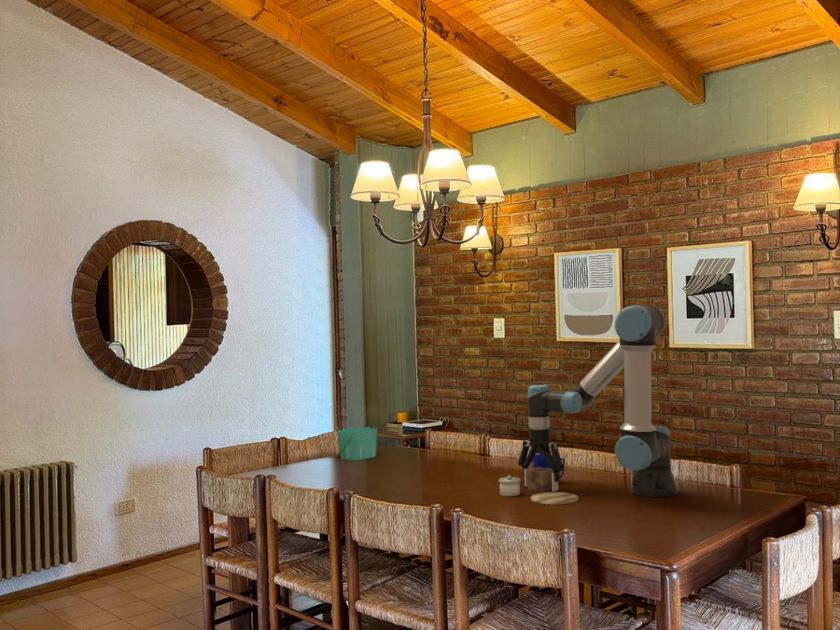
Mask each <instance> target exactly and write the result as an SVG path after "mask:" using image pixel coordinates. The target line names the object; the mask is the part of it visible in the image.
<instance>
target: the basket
mask: <svg viewBox="0 0 840 630" xmlns="http://www.w3.org/2000/svg"><path fill="white" fill-rule="evenodd" d="M336 431H337V439H338V446H339V451H338V455H339V456H340V458H341V459H342V460H349V461H357V460H358V461H359V460H367V459H368V460H369V459H372V458H375V457H376V456H377V439H378V428H376V427H375V426H374V427H371V426H366V427H365V428H364V426H358V427H357V428H355V427H354V426H353V427H348V428H345V427H343V428H342V429H340V428H339V429H338V430H336Z"/></svg>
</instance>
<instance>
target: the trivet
mask: <svg viewBox="0 0 840 630" xmlns="http://www.w3.org/2000/svg"><path fill="white" fill-rule="evenodd" d="M579 500H580V499H579V496H578V495H577V494H575V493H574V494H573V493H569V492H563V491H545V492H539V493H535V494H532V495H531V496H530V501H531V502H533V503H535V504H541V505H548V504H549V505H551V506H556V505H557V506H560V505H571V504H574V503H577V502H578V501H579Z"/></svg>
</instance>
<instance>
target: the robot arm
mask: <svg viewBox="0 0 840 630" xmlns="http://www.w3.org/2000/svg"><path fill="white" fill-rule="evenodd" d="M614 319H615V320H614V330H615V332H616V335H617V336H618V337H619V340H618V341H617V342H616V343H615V344H614V345H613V346H612V347H611V349H610V350H609V351H608V352H607V353H606V354H605V355H604V356H603V357H602V358H601V359H600V360H599V361H598V362H597V363H596V365H594V367H593V368H592V369H591V370H590V371H589V372H588V373H587V374H586V375H585V376H584V378H583V379H581V380H580V381H579V382H578V384H577V385H576V386H575V387H574V388H572V389H569V390H564V391H562V390H561V391H560V390H559V391H556V390H555V391H552V390H550V389H549V386H548V385H547V384H546V385H545V384H533V385H530V386H528V388H527V407H528V415H527V416H528V427H529V428H528V439H529V440H523V441H522V449H521V453H520V456H519V460H518V462H517V465H518V466H519V467H521V468H522V476H523V477H524V478H523V479H524V487H525V488H528V481H527V470H530V469H531V467H530V464H532V460H533V458H534V456H535V455H538V454H543V456H544V457H545V458H546V459H547V461H548V463H549V465H550V466H551V468H552V470H553V472H552V490H551V492H558V491H559V482H560V480H561V478H560V475H561V474H560V473H561V472H562V471H564V472H565V465H564V466H563V460H561V458H562V457H561V455H560V452H559V447H558V446H559V445H558V443H551V442H550V439H551V429H550V425H551V423H550V422H551V421H550V413H559V414H560V413H561V414H562V413H563V414H569V415H570V414H578V413H580V412H581V410H583V409H586V408H588V407H591V405H592V404H593V402H594V400H595V398H596V396H598V394H600V392H601V391H602V390H603V389H604V388H605V387H606V386H607V385H608V384H609V383H610V382H611V381H612V380H613V379H614V378H615V377H616V376H617V375H618V374H619V373H620V372H621V371H622V370H624V374H623V375H624V377H623V378H624V379H623V380H624V384H623V385H624V391H623V392H624V422H623V423H622V425H620V427H619V439H618V440H617V441H616V444H615V446H614V455H615V457H616V460H617V461H618V462H619V463H620V464H621V466H623V468H625V469H628V470H630V471H635V473H634V476H633V479H632V482H631V492H632V493H633V494H635V495H638V496H643V497H653V498H655V497H656V498H659V497H660V498H664V497H671V496H676V495H677V494H678V485H677V482H676V480H675V477H674V475H673V471H672V458H671V451H672V450H671V434H670V429H669V428H668V427H667V426H663V425H662V426H660V425H658V426H657V425H653V424H652V350H654V348H656V346H657V338H658V337H659V336H660V335H661V334H662V333H663V331H664V329H665V326H666V325H665V324H666V322H665V321H666V320H665V316H664V314H663V312H662V311H661V310H659V308H657V307H655V306H653V305H650V304H649V305H646V304H645V305H640V304H639V305H637V304H633V305H632V304H631V305H630V306H626V307H624V308H622V309H621V310H620V311H619V312H618V313H617V315H616V317H615V318H614ZM552 455H553V456H552Z"/></svg>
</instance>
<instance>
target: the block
mask: <svg viewBox="0 0 840 630" xmlns="http://www.w3.org/2000/svg"><path fill="white" fill-rule="evenodd" d="M552 472H553V470H552V469H549V468H541V467H538V468H534V469H533V468H530V470H527V481H528V486H527V490H529V491H534V492H535V491H536V492H539V493H545V492H550V491H552Z"/></svg>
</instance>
